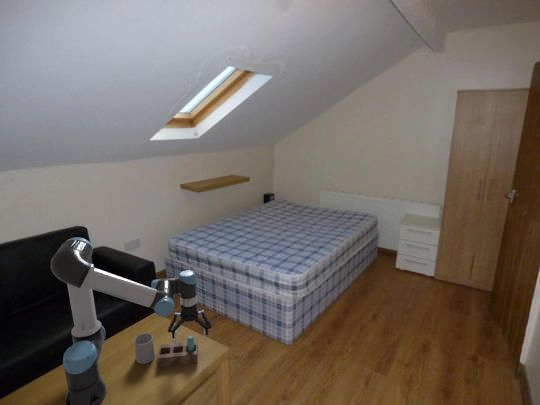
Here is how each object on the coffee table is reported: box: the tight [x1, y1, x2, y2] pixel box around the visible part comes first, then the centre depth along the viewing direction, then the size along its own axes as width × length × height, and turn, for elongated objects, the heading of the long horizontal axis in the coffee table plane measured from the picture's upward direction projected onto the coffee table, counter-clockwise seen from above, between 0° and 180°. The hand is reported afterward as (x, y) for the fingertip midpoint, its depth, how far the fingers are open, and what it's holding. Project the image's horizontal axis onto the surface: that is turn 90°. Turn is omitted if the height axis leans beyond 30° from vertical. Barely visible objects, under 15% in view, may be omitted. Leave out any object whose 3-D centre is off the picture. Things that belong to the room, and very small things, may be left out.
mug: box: [133, 332, 155, 365], centre depth 163 cm, size 12×8×11 cm
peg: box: [186, 335, 195, 352], centre depth 163 cm, size 3×3×11 cm
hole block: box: [157, 341, 199, 368], centre depth 162 cm, size 18×9×5 cm, turn 100°
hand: (190, 341), depth 162 cm, fingers open, 13 cm apart
